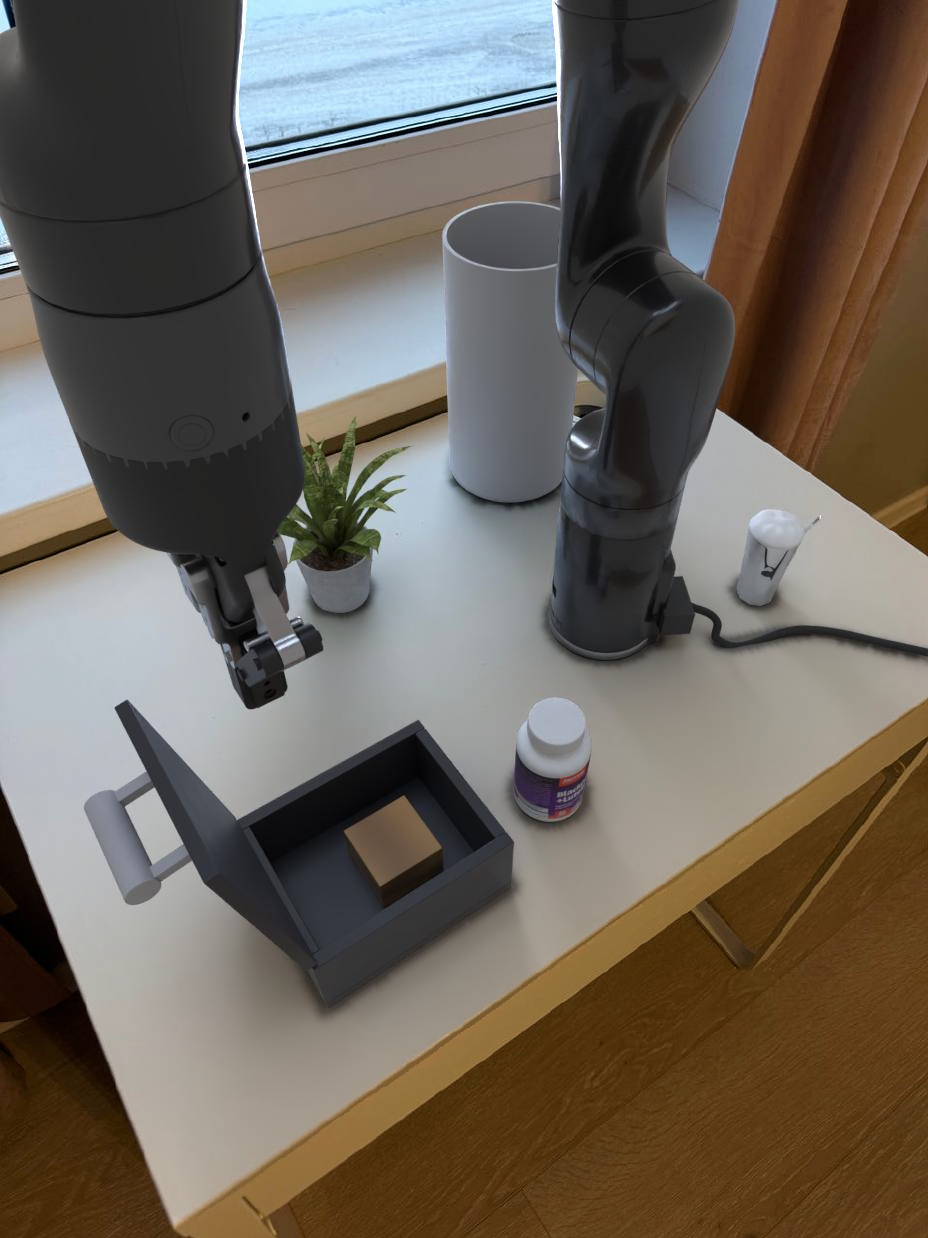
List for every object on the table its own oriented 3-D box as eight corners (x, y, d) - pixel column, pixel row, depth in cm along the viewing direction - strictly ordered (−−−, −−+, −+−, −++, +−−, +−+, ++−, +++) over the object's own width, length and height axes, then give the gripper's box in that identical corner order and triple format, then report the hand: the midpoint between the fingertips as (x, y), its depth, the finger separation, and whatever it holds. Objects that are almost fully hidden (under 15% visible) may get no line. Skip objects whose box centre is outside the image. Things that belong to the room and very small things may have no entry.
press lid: (127, 698, 47) (43, 750, 46) (219, 873, 40) (123, 938, 39) (234, 816, 59) (170, 859, 58) (318, 963, 53) (247, 1015, 52)
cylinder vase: (570, 434, 98) (592, 204, 79) (565, 510, 90) (588, 274, 71) (457, 427, 99) (452, 198, 80) (442, 502, 91) (432, 267, 72)
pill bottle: (562, 836, 66) (573, 766, 59) (500, 802, 68) (502, 731, 61) (595, 782, 69) (609, 709, 62) (534, 751, 71) (541, 676, 64)
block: (407, 818, 66) (404, 794, 64) (444, 870, 64) (442, 847, 61) (348, 853, 65) (343, 830, 62) (383, 909, 62) (379, 887, 59)
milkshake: (790, 616, 80) (822, 535, 73) (729, 608, 81) (755, 527, 73) (788, 580, 83) (819, 498, 76) (729, 572, 84) (754, 491, 76)
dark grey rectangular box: (422, 769, 70) (418, 718, 65) (511, 887, 64) (514, 841, 59) (250, 868, 65) (230, 822, 60) (327, 1008, 58) (313, 970, 53)
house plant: (461, 579, 84) (458, 438, 71) (369, 677, 76) (349, 538, 64) (343, 522, 89) (321, 381, 77) (246, 608, 82) (205, 468, 69)
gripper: (371, 449, 28) (398, 752, 41) (205, 276, 36) (272, 580, 49) (143, 538, 26) (248, 833, 38) (13, 331, 33) (138, 638, 46)
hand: (261, 691), depth 43 cm, fingers closed
